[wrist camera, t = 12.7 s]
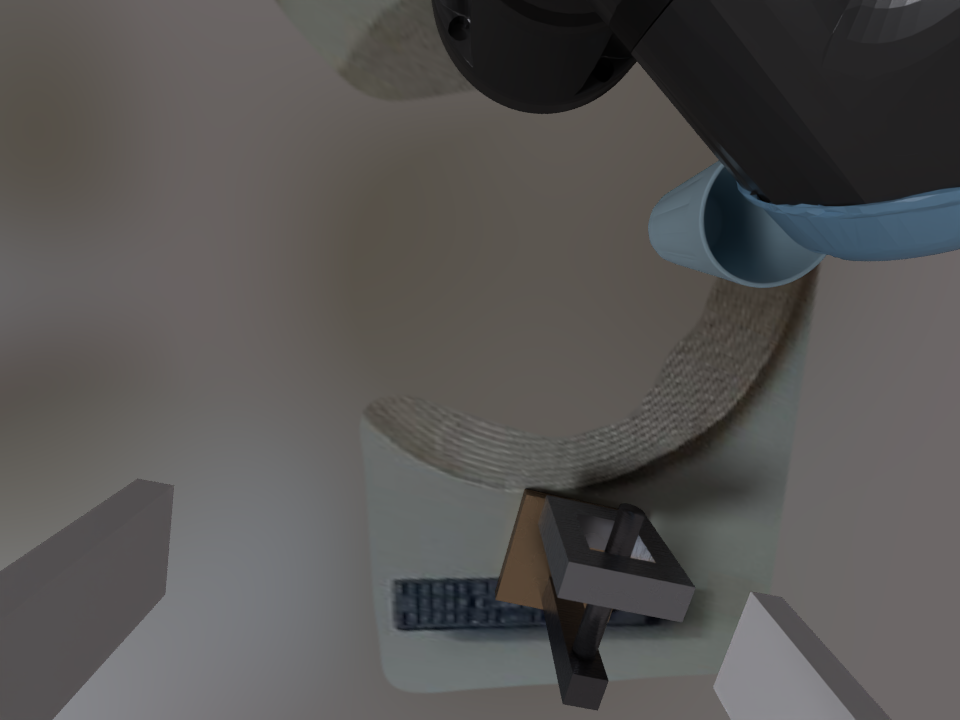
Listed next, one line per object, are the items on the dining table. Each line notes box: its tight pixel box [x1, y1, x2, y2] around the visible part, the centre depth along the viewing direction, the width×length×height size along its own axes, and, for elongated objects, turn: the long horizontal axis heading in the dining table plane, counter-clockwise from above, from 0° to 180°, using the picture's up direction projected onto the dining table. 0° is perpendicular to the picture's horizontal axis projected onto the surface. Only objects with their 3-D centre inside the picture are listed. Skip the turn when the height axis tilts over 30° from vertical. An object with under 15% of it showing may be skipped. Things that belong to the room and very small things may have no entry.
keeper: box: [495, 489, 645, 710], centre depth 35 cm, size 14×10×10 cm
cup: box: [648, 161, 827, 288], centre depth 30 cm, size 8×8×10 cm
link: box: [538, 495, 696, 622], centre depth 32 cm, size 2×8×8 cm, turn 76°
